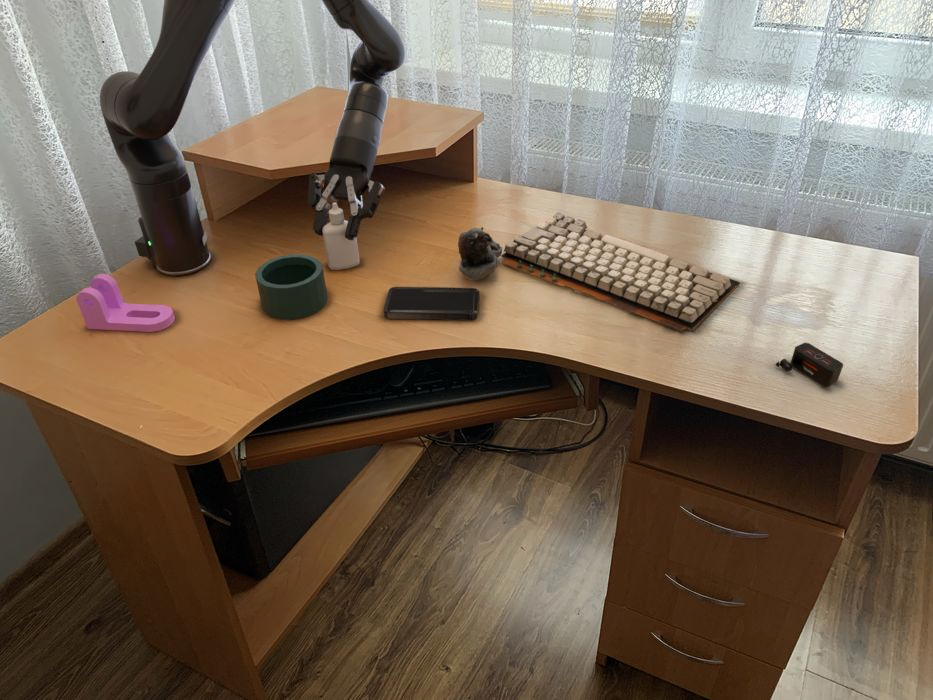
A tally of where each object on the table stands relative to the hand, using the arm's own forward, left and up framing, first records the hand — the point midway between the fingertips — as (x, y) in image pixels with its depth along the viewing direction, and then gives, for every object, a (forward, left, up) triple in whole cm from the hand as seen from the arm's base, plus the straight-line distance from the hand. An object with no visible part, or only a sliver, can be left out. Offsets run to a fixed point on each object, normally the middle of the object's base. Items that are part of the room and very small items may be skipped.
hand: (333, 236), depth 126 cm
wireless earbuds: (+77, -5, -7) cm, 77 cm away
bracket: (-24, -24, -7) cm, 35 cm away
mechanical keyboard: (+46, +14, -7) cm, 48 cm away
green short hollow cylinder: (-2, -11, -7) cm, 13 cm away
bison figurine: (+24, +8, -7) cm, 26 cm away
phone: (+20, -6, -7) cm, 22 cm away
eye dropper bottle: (0, +2, -7) cm, 7 cm away
